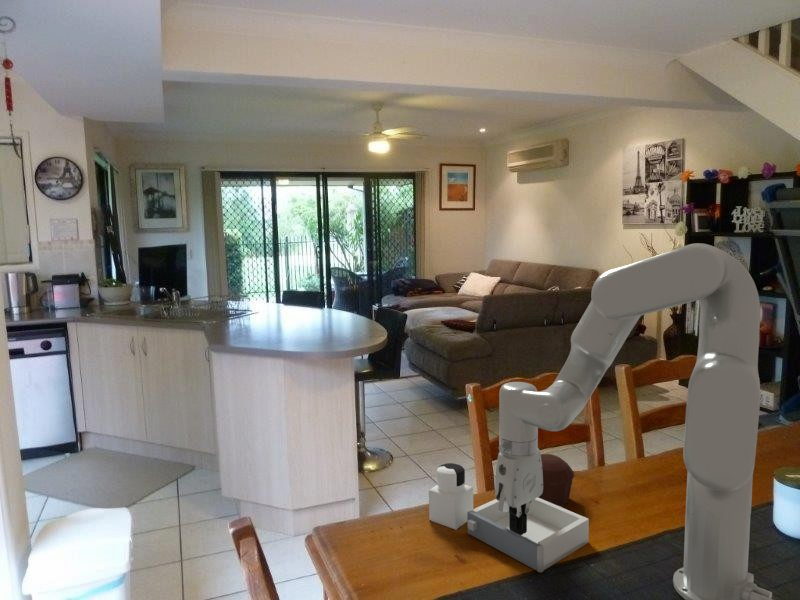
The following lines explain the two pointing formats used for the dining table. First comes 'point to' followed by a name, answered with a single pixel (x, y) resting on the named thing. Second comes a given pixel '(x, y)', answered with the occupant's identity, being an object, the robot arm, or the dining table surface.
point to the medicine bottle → (450, 497)
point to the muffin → (556, 479)
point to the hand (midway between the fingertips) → (518, 531)
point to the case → (546, 527)
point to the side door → (506, 541)
